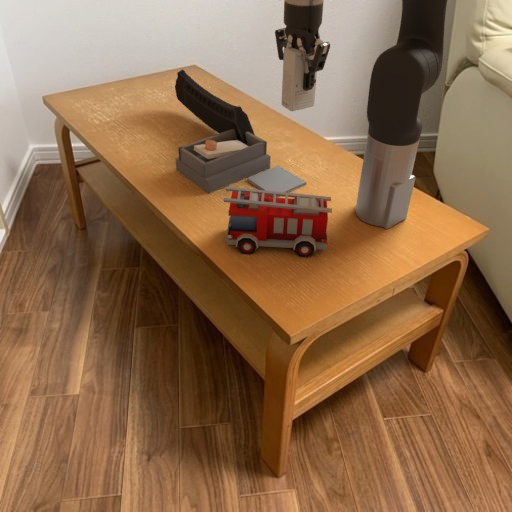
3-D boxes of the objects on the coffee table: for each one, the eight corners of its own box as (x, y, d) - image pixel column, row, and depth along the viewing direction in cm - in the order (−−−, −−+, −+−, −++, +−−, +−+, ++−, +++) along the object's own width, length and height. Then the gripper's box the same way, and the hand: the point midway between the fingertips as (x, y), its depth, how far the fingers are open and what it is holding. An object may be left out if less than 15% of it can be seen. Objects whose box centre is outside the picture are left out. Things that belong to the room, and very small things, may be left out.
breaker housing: (236, 148, 130) (236, 124, 127) (270, 168, 123) (271, 143, 120) (176, 170, 122) (174, 145, 118) (208, 193, 115) (207, 167, 111)
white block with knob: (236, 143, 125) (238, 133, 123) (251, 152, 122) (252, 141, 121) (193, 149, 117) (194, 138, 116) (207, 159, 114) (209, 147, 113)
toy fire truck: (227, 225, 106) (227, 180, 100) (325, 230, 106) (331, 185, 99) (222, 253, 99) (221, 207, 93) (327, 259, 99) (333, 213, 92)
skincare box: (292, 112, 116) (295, 54, 108) (280, 105, 119) (282, 47, 111) (315, 106, 119) (320, 48, 111) (303, 99, 122) (306, 42, 114)
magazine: (258, 118, 119) (178, 43, 130) (246, 125, 118) (167, 49, 129) (258, 167, 134) (186, 96, 145) (247, 174, 133) (176, 102, 144)
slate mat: (306, 184, 118) (306, 181, 118) (274, 198, 114) (275, 196, 113) (278, 167, 123) (278, 165, 123) (247, 180, 119) (247, 178, 118)
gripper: (345, 3, 103) (336, 91, 114) (292, -11, 112) (289, 72, 122) (316, 9, 99) (310, 100, 110) (264, -6, 108) (263, 80, 118)
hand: (299, 85), depth 116 cm, fingers closed on skincare box, 4 cm apart
